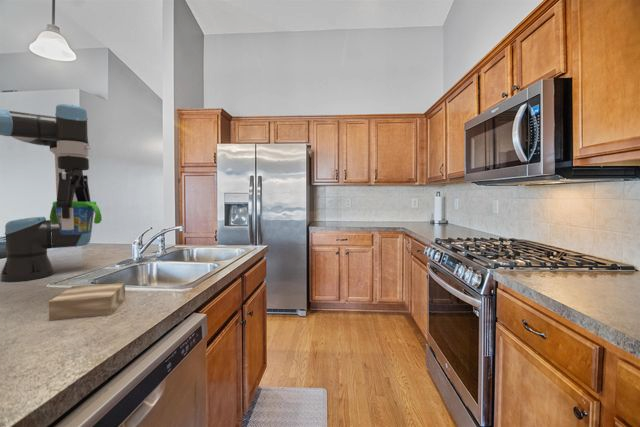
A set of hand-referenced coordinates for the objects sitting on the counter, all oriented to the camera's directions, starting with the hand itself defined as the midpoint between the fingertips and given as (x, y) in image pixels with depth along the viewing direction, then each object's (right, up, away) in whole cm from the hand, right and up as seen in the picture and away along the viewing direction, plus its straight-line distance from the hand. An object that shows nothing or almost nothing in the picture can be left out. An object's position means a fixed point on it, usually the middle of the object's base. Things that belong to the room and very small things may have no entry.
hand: (76, 227), depth 96 cm
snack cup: (0, -2, 0) cm, 2 cm away
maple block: (+9, -23, -6) cm, 26 cm away
